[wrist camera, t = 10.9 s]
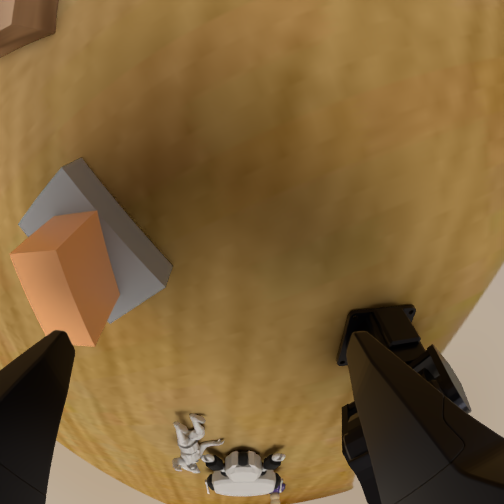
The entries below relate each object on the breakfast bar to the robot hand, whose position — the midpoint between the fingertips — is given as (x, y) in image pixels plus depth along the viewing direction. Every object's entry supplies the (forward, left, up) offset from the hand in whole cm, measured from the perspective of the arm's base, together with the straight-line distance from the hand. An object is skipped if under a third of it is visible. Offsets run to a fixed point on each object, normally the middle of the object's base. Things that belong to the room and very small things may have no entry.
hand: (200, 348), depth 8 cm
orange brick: (-2, +9, -9) cm, 13 cm away
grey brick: (-2, +9, -12) cm, 15 cm away
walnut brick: (+15, +14, -12) cm, 24 cm away
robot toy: (-40, -1, -12) cm, 42 cm away
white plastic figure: (-29, +6, -12) cm, 32 cm away
